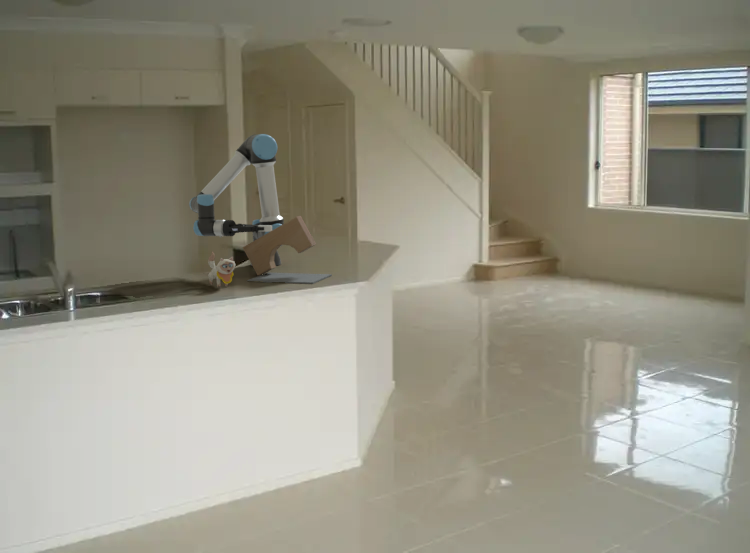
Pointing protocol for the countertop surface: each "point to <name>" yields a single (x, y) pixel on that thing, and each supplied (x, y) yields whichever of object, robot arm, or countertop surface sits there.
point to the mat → (291, 278)
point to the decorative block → (278, 244)
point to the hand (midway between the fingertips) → (271, 228)
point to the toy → (221, 270)
